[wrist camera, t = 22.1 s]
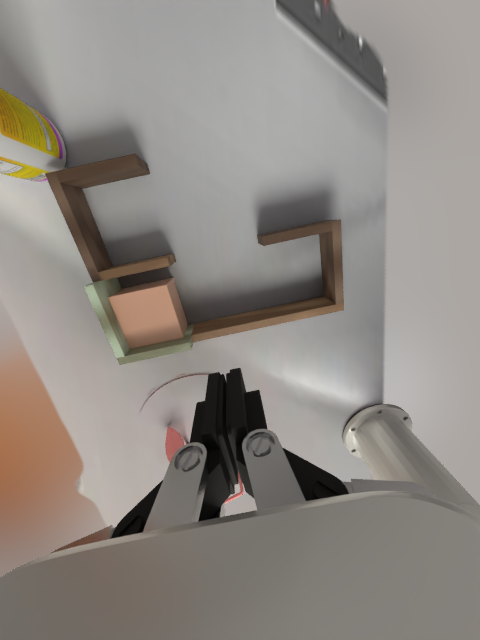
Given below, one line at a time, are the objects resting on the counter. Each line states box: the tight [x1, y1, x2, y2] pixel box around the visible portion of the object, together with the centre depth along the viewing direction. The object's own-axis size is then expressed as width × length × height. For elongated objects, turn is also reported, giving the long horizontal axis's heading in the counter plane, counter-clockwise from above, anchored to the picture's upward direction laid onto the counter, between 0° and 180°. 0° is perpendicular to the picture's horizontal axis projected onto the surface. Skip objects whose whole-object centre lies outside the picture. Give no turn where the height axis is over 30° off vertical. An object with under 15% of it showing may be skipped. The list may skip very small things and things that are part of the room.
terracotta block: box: [108, 278, 188, 349], centre depth 31 cm, size 7×7×4 cm
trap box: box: [45, 154, 344, 365], centre depth 28 cm, size 21×29×6 cm
